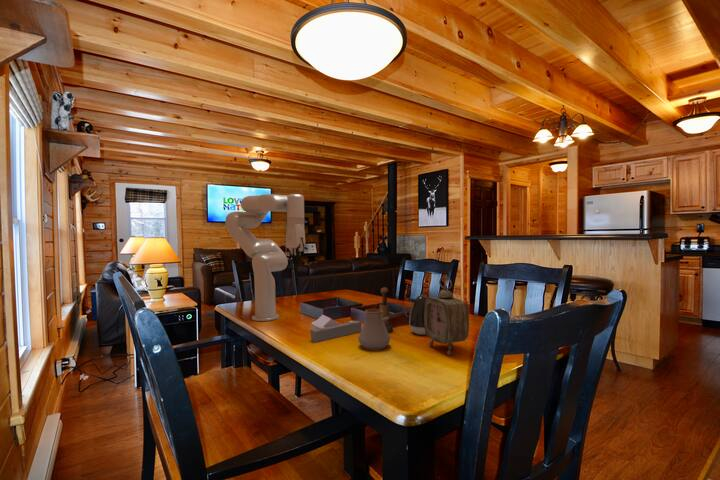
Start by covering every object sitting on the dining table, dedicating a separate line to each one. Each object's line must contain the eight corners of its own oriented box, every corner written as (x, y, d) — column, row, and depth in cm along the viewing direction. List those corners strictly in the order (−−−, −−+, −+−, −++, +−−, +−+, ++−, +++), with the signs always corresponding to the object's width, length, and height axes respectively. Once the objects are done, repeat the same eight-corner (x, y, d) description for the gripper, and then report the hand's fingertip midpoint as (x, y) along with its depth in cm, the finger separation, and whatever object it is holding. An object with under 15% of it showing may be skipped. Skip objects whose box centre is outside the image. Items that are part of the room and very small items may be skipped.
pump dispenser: (404, 331, 143) (404, 294, 143) (427, 328, 146) (426, 292, 146) (415, 337, 134) (415, 298, 133) (439, 335, 137) (439, 296, 137)
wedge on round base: (341, 333, 140) (328, 326, 152) (341, 317, 140) (327, 311, 152) (320, 337, 136) (308, 329, 147) (320, 320, 136) (308, 313, 147)
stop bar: (311, 340, 131) (310, 328, 131) (356, 330, 145) (356, 319, 145) (315, 342, 129) (315, 330, 129) (361, 331, 143) (361, 320, 143)
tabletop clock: (424, 345, 125) (423, 275, 124) (445, 342, 128) (444, 274, 128) (448, 358, 111) (448, 280, 111) (471, 354, 115) (471, 278, 114)
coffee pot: (351, 346, 124) (350, 304, 124) (373, 339, 132) (373, 300, 132) (398, 361, 109) (397, 313, 109) (419, 352, 117) (419, 308, 117)
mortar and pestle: (374, 332, 142) (374, 288, 142) (379, 328, 148) (379, 285, 148) (390, 333, 139) (389, 288, 139) (394, 329, 145) (394, 286, 145)
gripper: (280, 223, 157) (280, 263, 157) (296, 221, 145) (296, 265, 145) (295, 223, 162) (295, 262, 162) (311, 222, 150) (312, 264, 150)
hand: (296, 264), depth 154 cm, fingers closed
